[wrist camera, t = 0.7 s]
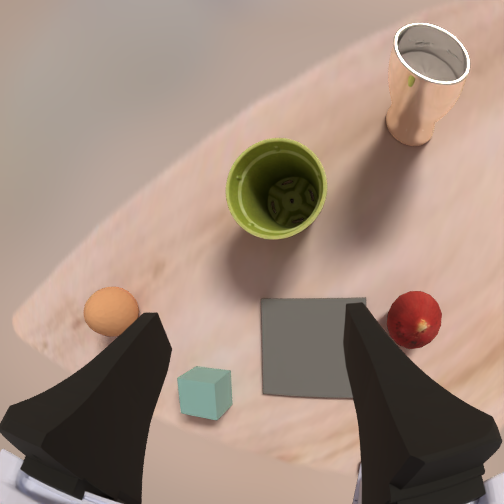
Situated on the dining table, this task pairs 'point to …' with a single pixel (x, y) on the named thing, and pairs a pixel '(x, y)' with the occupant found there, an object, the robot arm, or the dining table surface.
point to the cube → (205, 392)
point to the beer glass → (423, 80)
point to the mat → (305, 347)
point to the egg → (110, 311)
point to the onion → (414, 319)
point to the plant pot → (276, 188)
